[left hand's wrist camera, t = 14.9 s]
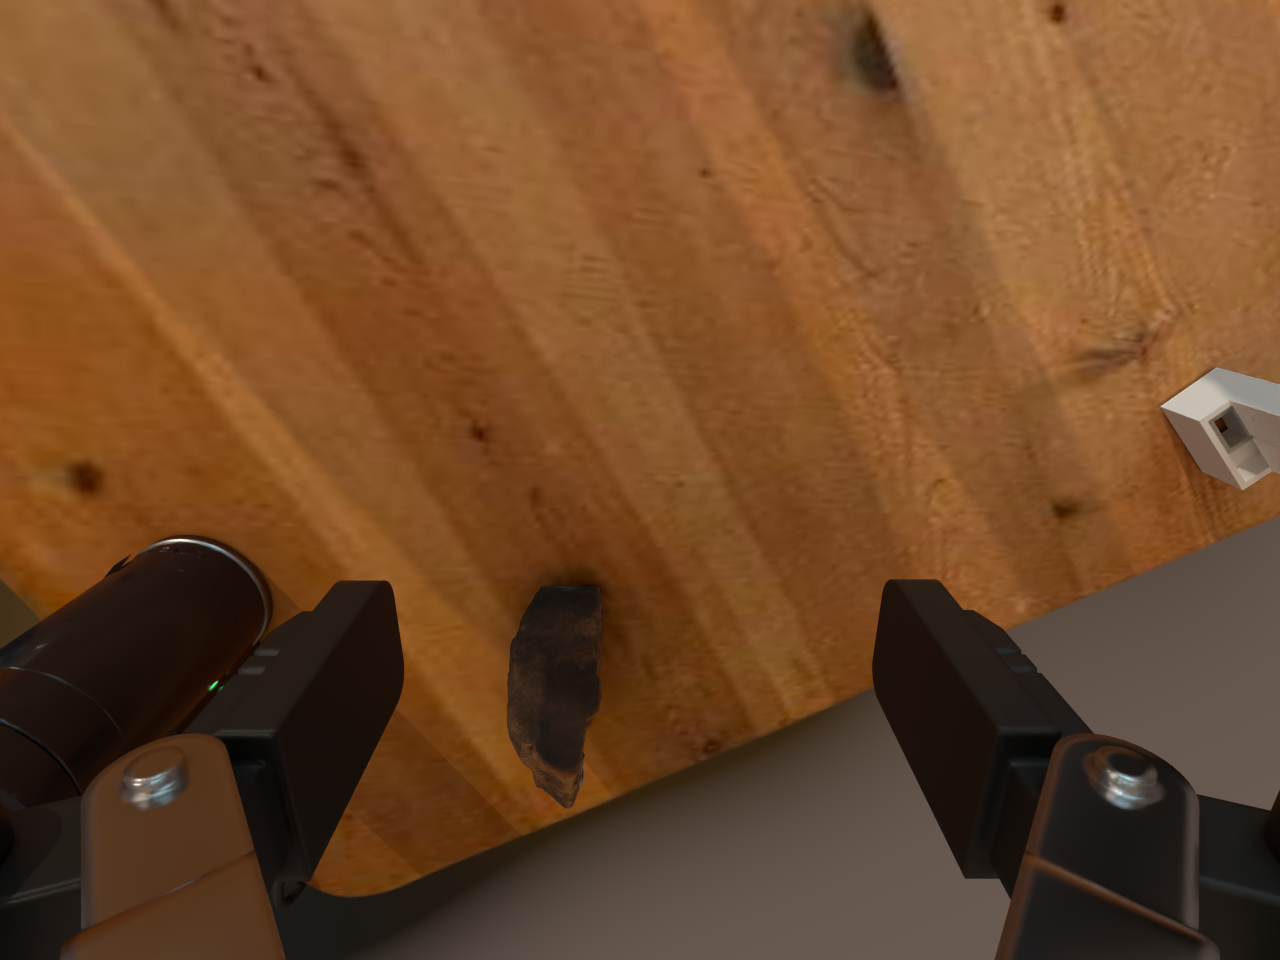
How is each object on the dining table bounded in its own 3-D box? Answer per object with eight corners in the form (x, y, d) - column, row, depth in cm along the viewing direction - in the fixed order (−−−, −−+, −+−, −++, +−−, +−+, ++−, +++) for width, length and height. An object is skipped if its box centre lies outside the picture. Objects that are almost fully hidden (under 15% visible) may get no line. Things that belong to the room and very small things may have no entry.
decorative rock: (590, 719, 51) (578, 843, 41) (508, 707, 51) (476, 830, 41) (617, 579, 47) (611, 679, 37) (528, 565, 46) (497, 662, 36)
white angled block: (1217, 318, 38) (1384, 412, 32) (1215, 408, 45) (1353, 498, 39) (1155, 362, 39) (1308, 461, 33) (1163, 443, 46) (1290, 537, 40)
